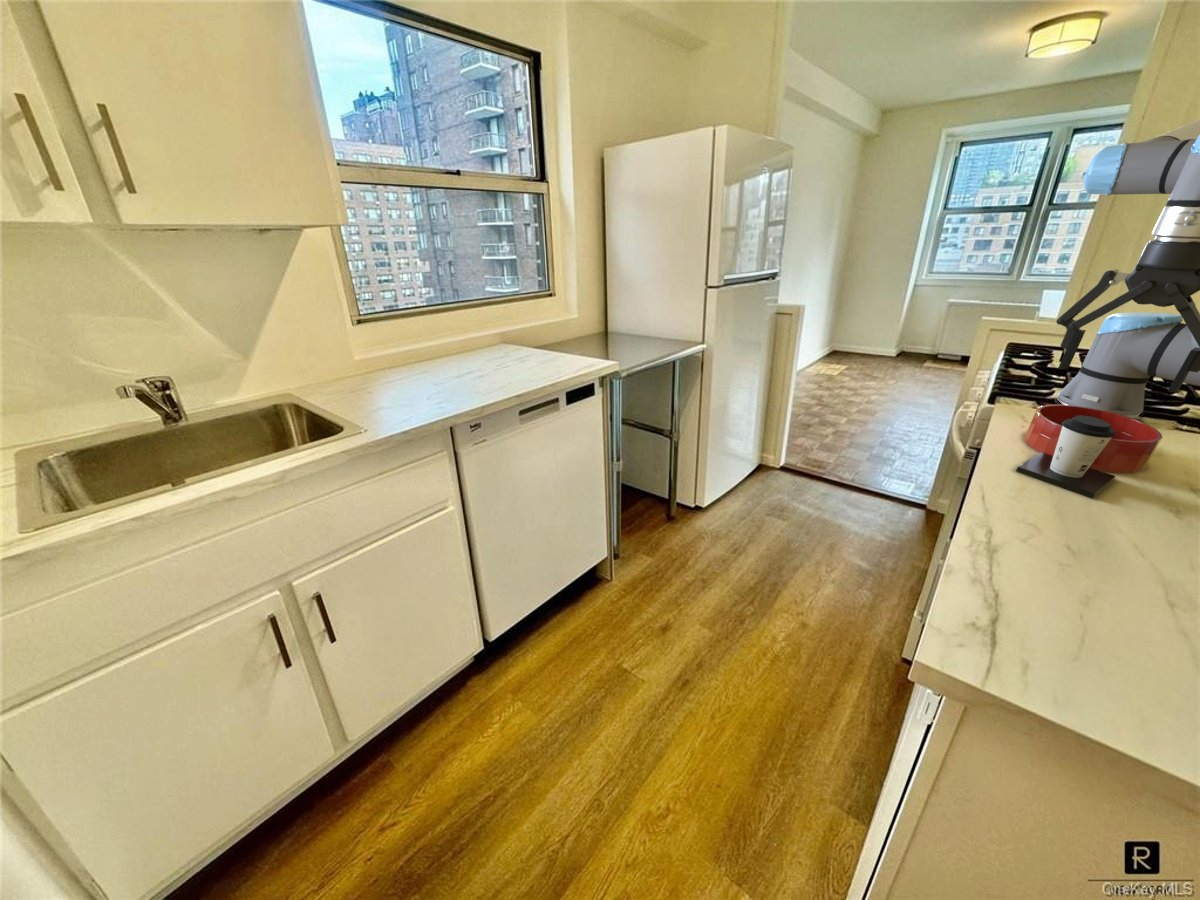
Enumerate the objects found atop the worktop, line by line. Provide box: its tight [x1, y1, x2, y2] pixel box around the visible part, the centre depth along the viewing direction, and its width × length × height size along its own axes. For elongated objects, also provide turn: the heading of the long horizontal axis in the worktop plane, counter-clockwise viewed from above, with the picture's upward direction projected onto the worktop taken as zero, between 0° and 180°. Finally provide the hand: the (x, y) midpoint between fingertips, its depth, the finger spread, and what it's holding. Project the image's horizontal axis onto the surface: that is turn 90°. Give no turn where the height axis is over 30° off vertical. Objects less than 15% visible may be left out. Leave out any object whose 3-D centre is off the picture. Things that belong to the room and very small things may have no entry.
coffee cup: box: [1050, 415, 1115, 478], centre depth 86 cm, size 7×7×10 cm
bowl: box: [1023, 404, 1163, 474], centre depth 96 cm, size 18×18×6 cm
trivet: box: [1015, 452, 1116, 499], centre depth 88 cm, size 11×11×1 cm
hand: (1114, 378), depth 80 cm, fingers open, 13 cm apart
